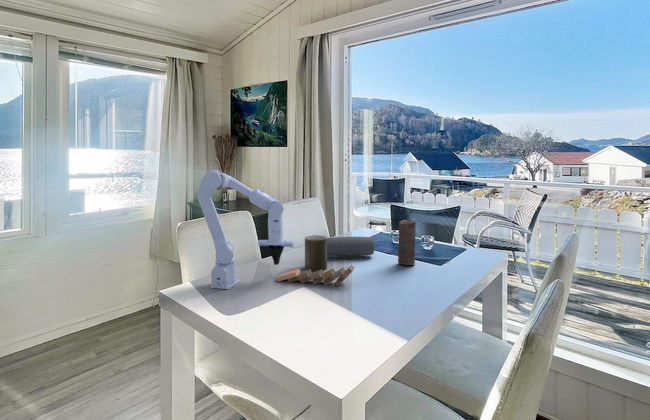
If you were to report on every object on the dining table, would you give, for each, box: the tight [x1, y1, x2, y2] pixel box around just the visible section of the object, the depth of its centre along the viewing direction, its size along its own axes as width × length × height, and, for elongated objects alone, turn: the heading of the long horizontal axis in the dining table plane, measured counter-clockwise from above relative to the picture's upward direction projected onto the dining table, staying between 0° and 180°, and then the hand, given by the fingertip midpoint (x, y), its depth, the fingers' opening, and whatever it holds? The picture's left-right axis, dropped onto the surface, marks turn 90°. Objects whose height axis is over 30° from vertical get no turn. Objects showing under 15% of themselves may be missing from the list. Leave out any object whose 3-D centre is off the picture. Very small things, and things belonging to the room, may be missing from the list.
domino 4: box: [311, 268, 336, 286], centre depth 145 cm, size 5×2×8 cm
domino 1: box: [276, 268, 301, 282], centre depth 149 cm, size 5×2×8 cm
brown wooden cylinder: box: [397, 219, 417, 266], centre depth 165 cm, size 8×7×20 cm
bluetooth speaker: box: [327, 236, 375, 259], centre depth 178 cm, size 23×9×10 cm, turn 92°
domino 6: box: [334, 264, 356, 287], centre depth 143 cm, size 5×2×8 cm
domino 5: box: [322, 267, 347, 286], centre depth 144 cm, size 5×2×8 cm
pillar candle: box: [304, 234, 328, 272], centre depth 162 cm, size 10×10×15 cm
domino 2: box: [287, 269, 313, 284], centre depth 147 cm, size 5×2×8 cm
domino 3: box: [299, 269, 324, 284], centre depth 146 cm, size 5×2×8 cm
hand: (276, 263), depth 149 cm, fingers closed
